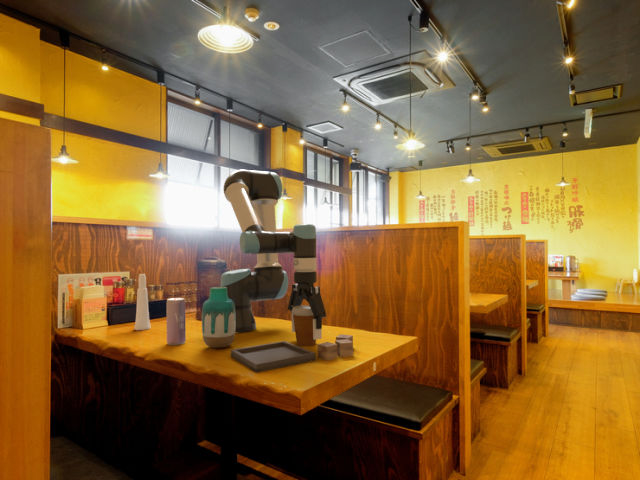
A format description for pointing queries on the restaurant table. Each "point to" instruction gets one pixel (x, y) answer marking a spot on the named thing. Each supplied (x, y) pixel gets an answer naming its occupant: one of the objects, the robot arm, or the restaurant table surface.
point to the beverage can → (176, 321)
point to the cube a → (327, 351)
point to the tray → (272, 356)
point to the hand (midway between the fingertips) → (306, 335)
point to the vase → (218, 319)
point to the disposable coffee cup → (303, 325)
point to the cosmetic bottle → (142, 306)
